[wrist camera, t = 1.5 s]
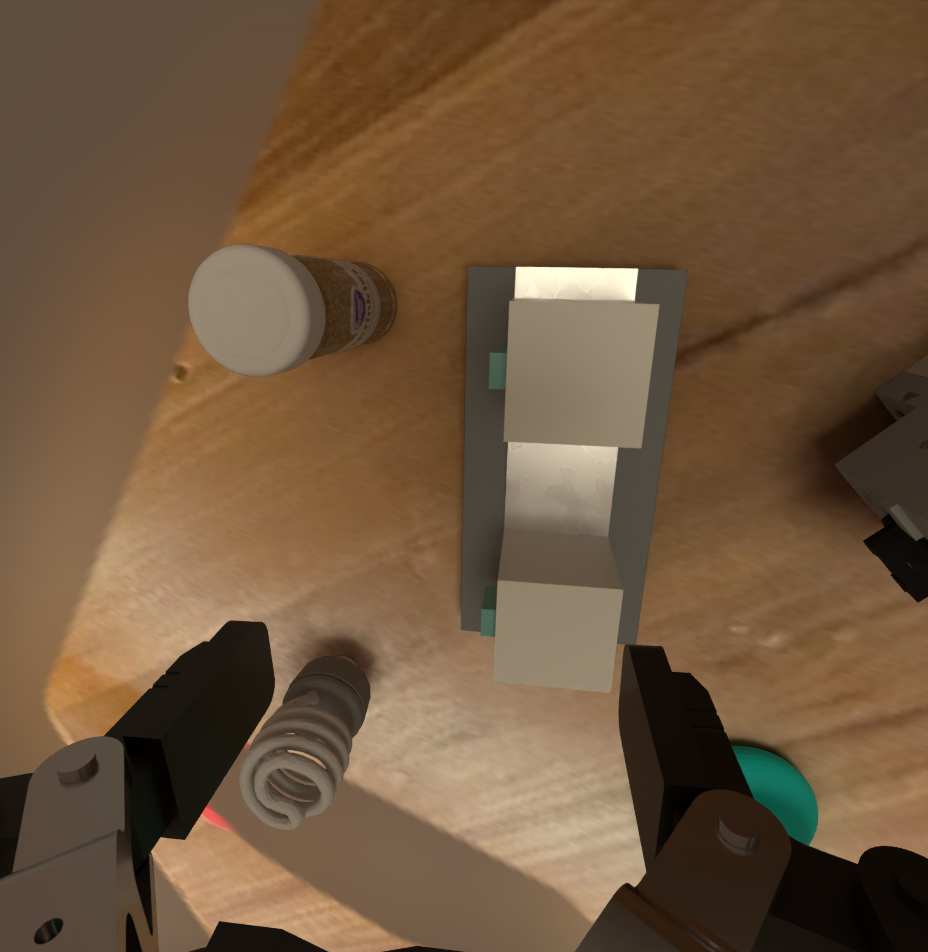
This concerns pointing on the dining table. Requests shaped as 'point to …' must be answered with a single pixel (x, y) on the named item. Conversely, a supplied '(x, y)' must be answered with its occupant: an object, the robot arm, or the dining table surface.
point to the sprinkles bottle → (284, 308)
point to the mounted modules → (567, 423)
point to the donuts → (780, 791)
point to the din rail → (554, 465)
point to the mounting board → (490, 452)
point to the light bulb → (306, 742)
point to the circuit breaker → (898, 480)
